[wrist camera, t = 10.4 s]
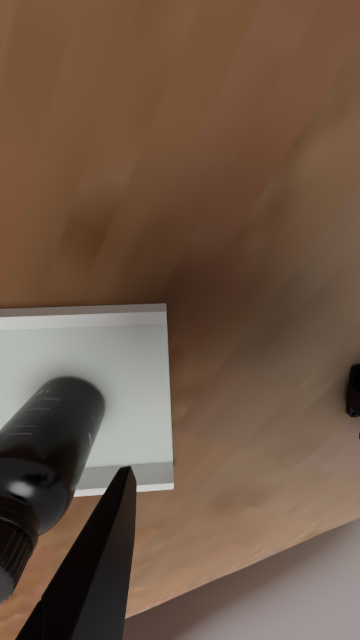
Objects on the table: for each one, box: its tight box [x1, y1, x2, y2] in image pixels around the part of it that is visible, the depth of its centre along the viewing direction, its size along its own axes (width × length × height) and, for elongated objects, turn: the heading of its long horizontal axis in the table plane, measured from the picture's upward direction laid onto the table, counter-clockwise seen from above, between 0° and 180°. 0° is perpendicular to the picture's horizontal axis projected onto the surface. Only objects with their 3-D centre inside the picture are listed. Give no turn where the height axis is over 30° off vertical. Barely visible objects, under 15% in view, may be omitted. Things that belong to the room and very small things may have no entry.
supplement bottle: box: [0, 378, 105, 603], centre depth 15 cm, size 7×7×12 cm
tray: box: [0, 303, 174, 497], centre depth 20 cm, size 21×20×2 cm
